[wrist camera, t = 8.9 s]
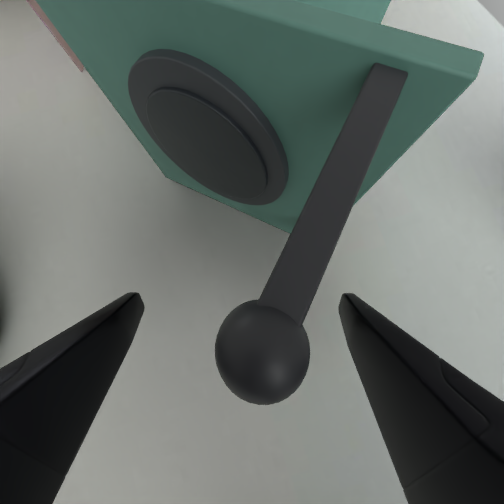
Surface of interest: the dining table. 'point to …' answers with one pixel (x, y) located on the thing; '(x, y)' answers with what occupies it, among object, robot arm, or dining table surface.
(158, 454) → the dining table surface
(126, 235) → the dining table surface
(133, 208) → the dining table surface
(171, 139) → the washer door
